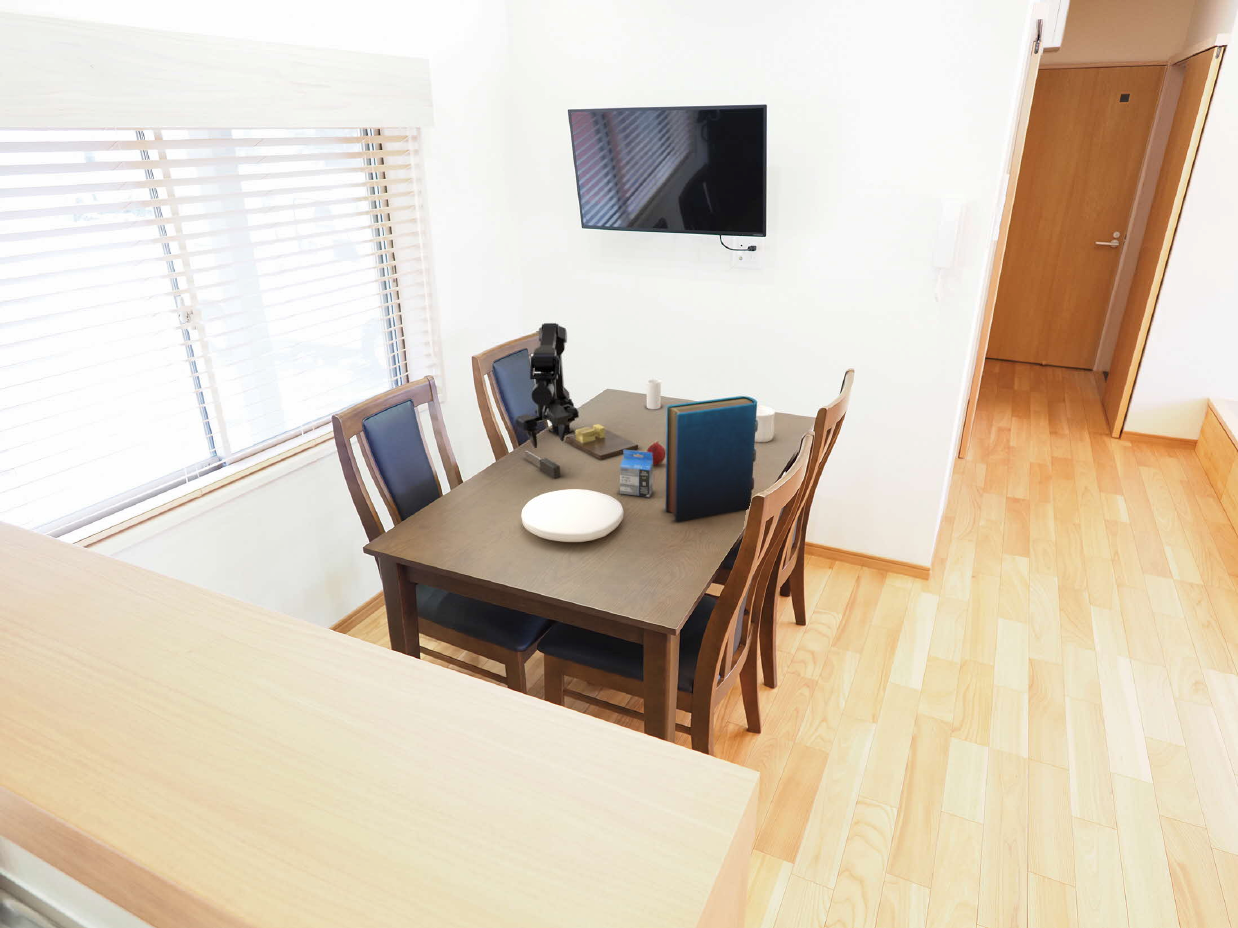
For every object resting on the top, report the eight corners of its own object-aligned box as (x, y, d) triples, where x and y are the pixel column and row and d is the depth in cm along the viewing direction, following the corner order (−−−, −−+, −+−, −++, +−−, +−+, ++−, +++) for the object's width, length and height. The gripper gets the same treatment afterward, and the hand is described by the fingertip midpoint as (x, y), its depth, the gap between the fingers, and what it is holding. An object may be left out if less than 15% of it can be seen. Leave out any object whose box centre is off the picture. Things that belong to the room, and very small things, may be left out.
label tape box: (619, 494, 223) (618, 454, 219) (623, 488, 227) (623, 449, 222) (649, 497, 221) (649, 457, 216) (653, 491, 225) (653, 452, 220)
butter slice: (593, 435, 262) (593, 425, 261) (598, 433, 263) (597, 424, 262) (600, 438, 259) (600, 428, 258) (605, 437, 260) (604, 427, 259)
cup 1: (647, 404, 295) (647, 379, 291) (660, 404, 295) (661, 379, 291) (646, 409, 290) (646, 383, 286) (660, 409, 290) (660, 383, 286)
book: (741, 494, 222) (747, 392, 210) (757, 507, 215) (763, 402, 203) (663, 508, 215) (664, 404, 203) (676, 522, 207) (677, 414, 195)
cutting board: (565, 441, 261) (564, 427, 259) (602, 431, 269) (601, 417, 267) (600, 460, 246) (600, 445, 245) (638, 448, 255) (638, 434, 253)
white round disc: (528, 485, 218) (624, 485, 218) (529, 507, 220) (624, 507, 220) (513, 521, 191) (622, 522, 191) (514, 546, 193) (622, 547, 193)
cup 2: (751, 430, 269) (752, 403, 265) (778, 436, 264) (780, 408, 260) (738, 438, 262) (740, 411, 258) (766, 445, 257) (768, 416, 253)
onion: (659, 470, 238) (659, 446, 235) (643, 466, 241) (643, 442, 238) (668, 464, 243) (669, 440, 240) (652, 460, 246) (652, 436, 243)
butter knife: (560, 476, 235) (559, 466, 234) (554, 478, 234) (553, 467, 232) (529, 458, 248) (528, 448, 247) (523, 460, 247) (522, 449, 246)
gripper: (532, 408, 216) (535, 460, 223) (588, 394, 227) (589, 445, 233) (512, 398, 225) (516, 448, 231) (567, 385, 235) (569, 434, 241)
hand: (548, 444), depth 234 cm, fingers open, 9 cm apart
